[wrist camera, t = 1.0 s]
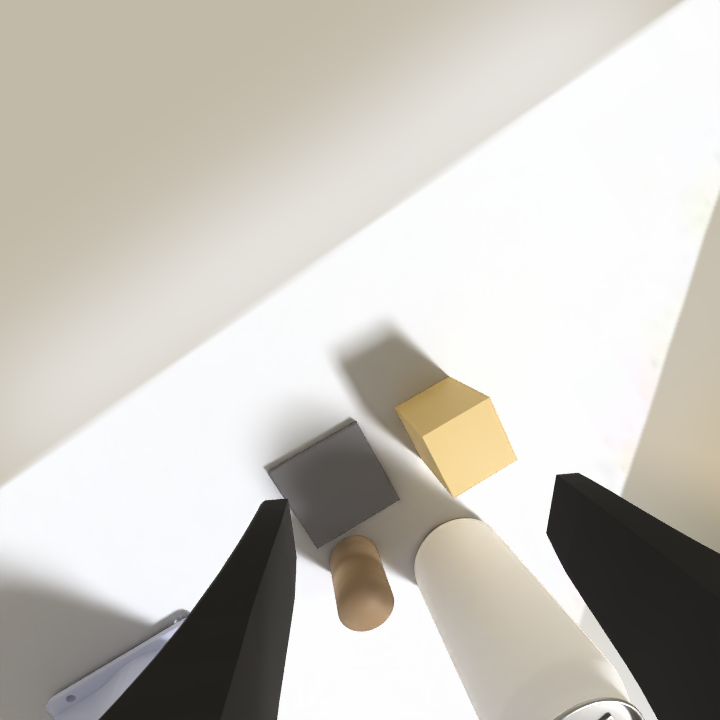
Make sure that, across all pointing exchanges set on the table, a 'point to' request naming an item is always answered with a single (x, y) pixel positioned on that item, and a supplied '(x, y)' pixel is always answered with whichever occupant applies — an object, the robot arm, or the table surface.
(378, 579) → the cork cylinder
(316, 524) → the coaster
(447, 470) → the ochre block
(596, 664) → the can
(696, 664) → the robot arm
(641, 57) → the table surface
